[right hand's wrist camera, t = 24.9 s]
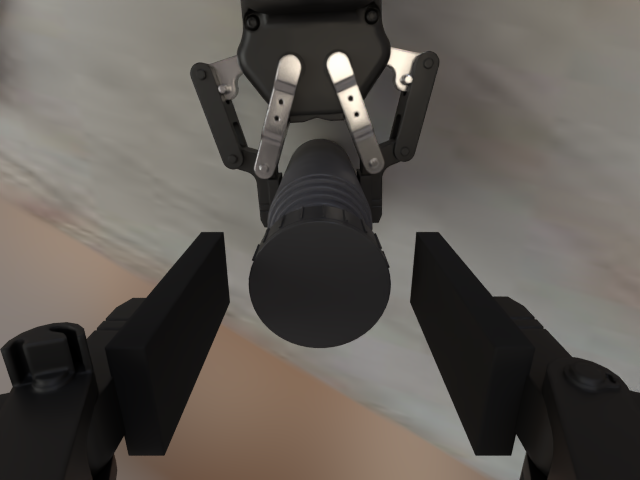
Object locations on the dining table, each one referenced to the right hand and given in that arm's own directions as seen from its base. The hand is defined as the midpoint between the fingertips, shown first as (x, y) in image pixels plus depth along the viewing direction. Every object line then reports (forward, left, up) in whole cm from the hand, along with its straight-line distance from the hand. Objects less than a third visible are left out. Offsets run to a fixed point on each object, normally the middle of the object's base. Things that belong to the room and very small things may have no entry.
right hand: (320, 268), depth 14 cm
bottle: (0, 0, -18) cm, 18 cm away
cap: (0, 0, +1) cm, 1 cm away
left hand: (-3, 0, -12) cm, 12 cm away
